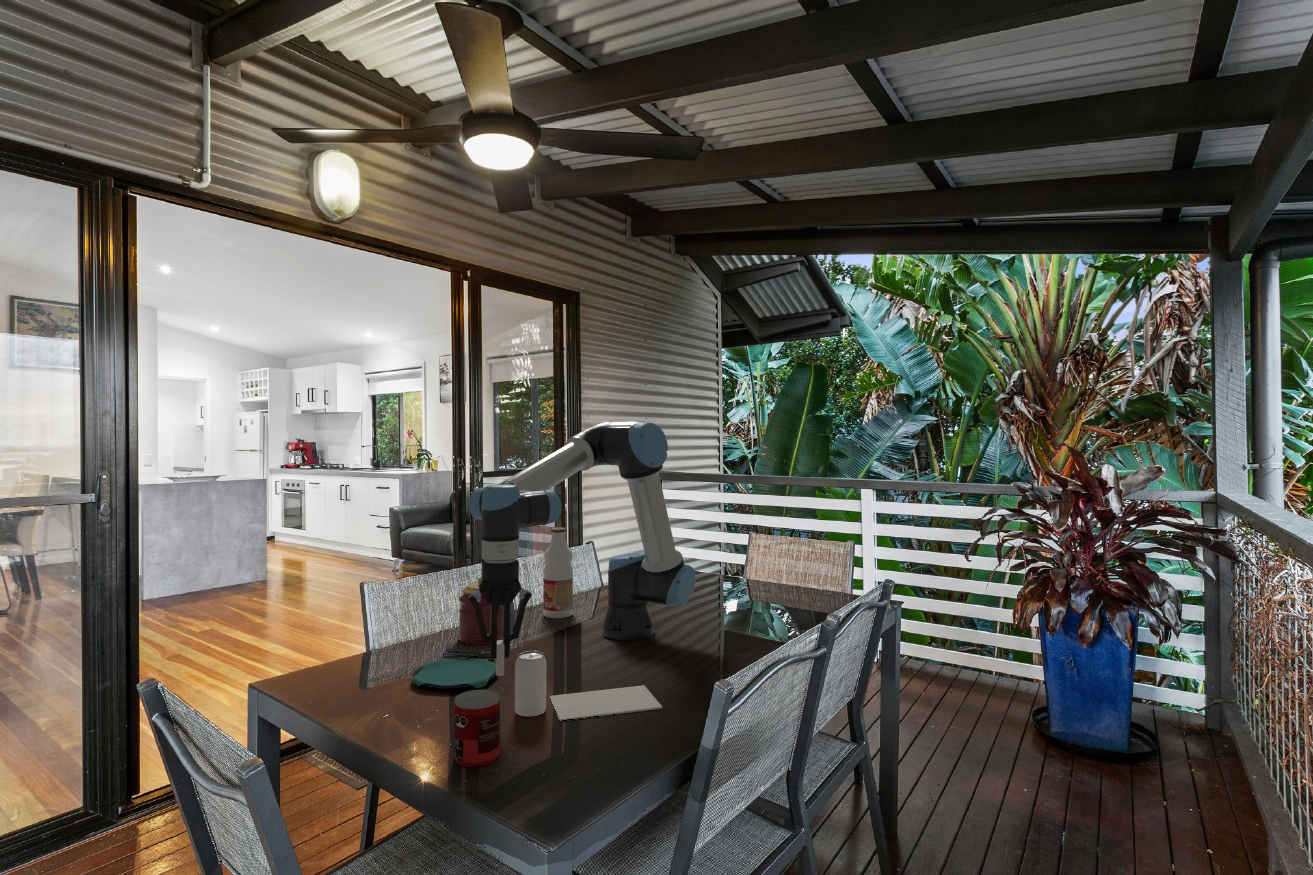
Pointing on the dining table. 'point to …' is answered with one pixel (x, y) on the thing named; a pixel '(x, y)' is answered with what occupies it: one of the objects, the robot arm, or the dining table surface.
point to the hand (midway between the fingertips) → (499, 673)
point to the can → (530, 683)
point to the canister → (468, 618)
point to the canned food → (476, 727)
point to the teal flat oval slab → (456, 671)
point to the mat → (604, 702)
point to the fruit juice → (558, 577)
